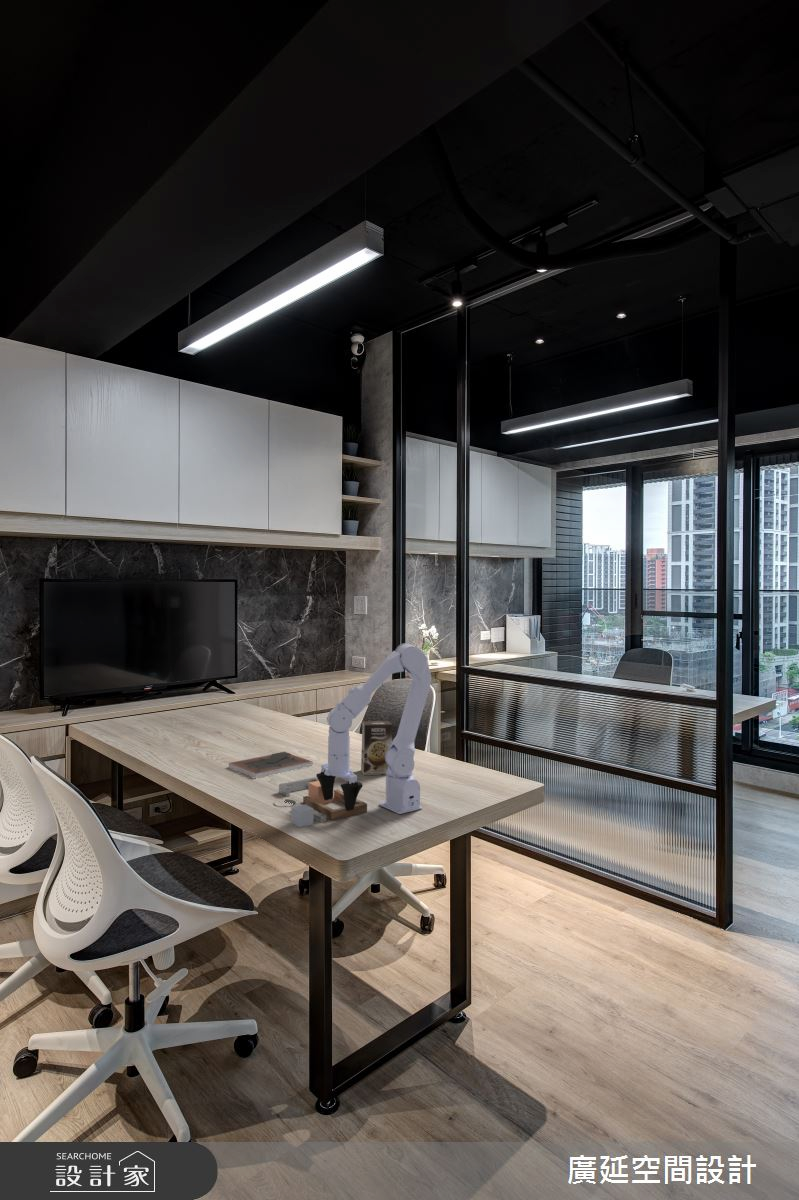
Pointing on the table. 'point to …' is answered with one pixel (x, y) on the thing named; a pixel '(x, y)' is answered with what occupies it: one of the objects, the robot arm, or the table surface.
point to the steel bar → (316, 815)
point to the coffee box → (375, 746)
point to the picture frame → (270, 764)
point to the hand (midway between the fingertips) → (338, 804)
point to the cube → (317, 792)
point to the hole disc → (290, 801)
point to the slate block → (302, 815)
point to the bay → (336, 813)
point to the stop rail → (295, 786)
